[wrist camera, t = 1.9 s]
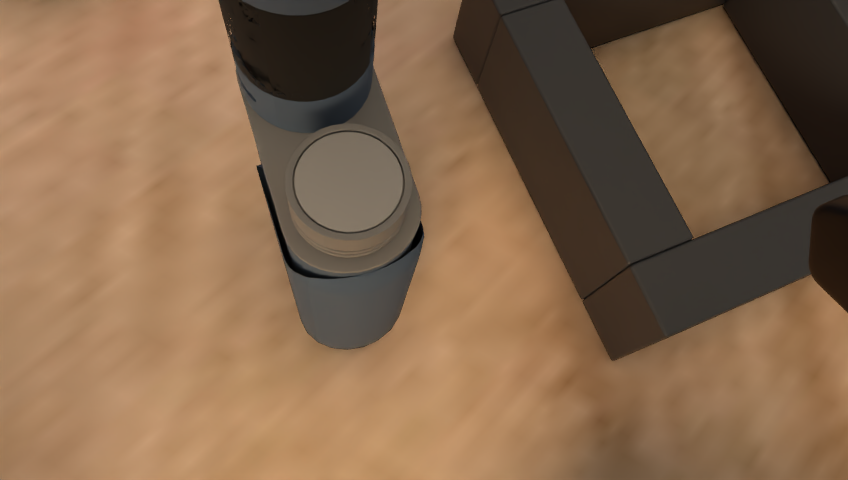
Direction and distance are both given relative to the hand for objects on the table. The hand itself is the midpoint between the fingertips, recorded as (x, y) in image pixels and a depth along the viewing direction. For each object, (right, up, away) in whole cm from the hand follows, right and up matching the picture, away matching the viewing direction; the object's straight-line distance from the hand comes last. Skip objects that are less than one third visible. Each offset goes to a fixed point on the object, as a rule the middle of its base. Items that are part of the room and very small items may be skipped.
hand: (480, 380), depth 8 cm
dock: (+7, +5, +14) cm, 16 cm away
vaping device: (-3, +1, +12) cm, 12 cm away
